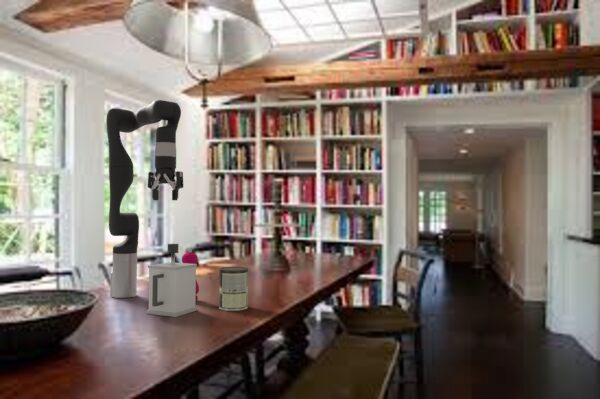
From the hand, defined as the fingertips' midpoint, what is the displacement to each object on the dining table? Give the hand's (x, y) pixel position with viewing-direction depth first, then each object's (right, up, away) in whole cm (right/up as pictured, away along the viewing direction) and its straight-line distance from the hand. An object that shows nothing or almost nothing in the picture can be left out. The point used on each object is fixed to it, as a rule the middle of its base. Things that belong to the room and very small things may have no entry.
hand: (165, 200), depth 187 cm
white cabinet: (+5, -38, -14) cm, 41 cm away
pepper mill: (+7, -39, +8) cm, 40 cm away
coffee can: (+25, -39, -4) cm, 46 cm away
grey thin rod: (+6, -37, -12) cm, 39 cm away
